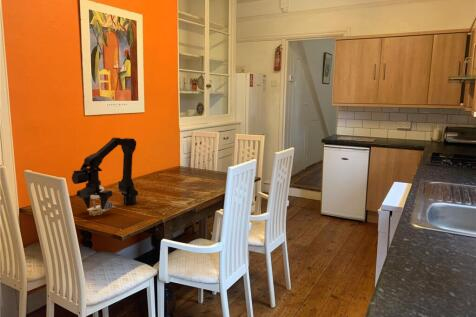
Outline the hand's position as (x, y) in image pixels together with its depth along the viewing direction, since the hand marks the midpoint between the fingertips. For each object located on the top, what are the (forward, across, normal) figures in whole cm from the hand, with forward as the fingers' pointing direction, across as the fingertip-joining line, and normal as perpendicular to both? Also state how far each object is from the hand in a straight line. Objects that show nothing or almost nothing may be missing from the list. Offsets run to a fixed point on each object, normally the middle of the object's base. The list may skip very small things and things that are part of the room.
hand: (95, 208), depth 195 cm
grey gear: (+3, -2, +11) cm, 11 cm away
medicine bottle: (+4, -23, +29) cm, 38 cm away
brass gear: (+4, 0, 0) cm, 4 cm away
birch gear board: (+4, -4, +9) cm, 11 cm away
